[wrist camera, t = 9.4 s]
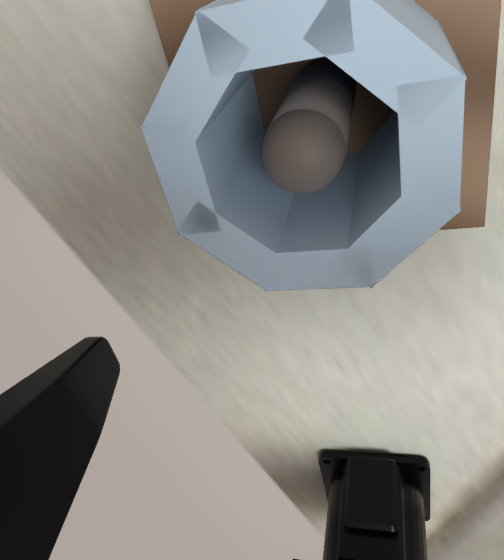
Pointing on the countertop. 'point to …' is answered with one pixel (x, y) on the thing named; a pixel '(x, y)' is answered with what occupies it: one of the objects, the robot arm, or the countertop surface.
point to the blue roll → (357, 166)
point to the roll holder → (360, 103)
